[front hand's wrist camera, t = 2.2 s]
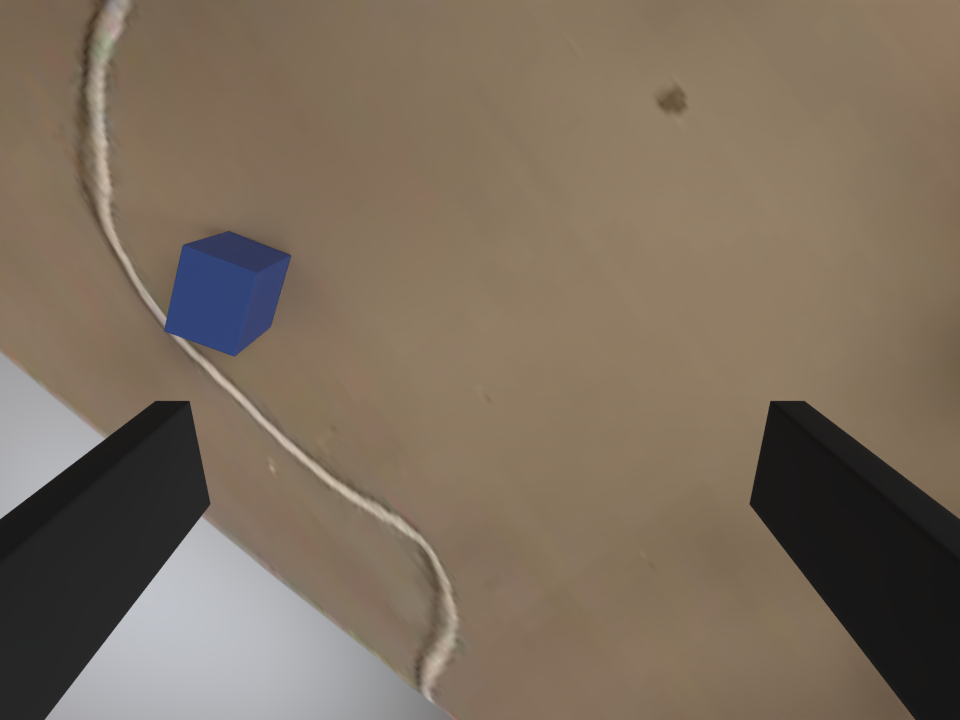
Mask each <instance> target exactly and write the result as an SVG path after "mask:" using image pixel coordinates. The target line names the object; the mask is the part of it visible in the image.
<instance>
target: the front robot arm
mask: <svg viewBox="0 0 960 720" xmlns="http://www.w3.org/2000/svg"><path fill="white" fill-rule="evenodd" d="M209 505H210V500H209V495H208V490H207V485H206V480H205V475H204V470H203V465H202V460H201V455H200V450H199V445H198V441H197V436H196V431H195V426H194V421H193V416H192V411H191V406H190V401H155V402H154V403H152V404H151V405H150V406H148V407H147V408H146V409H144V410H143V411H142V412H140V413H139V414H138V415H137V416H135V417H134V418H133V419H131V420H130V421H129V422H127V423H126V424H125V425H123V426H122V427H121V428H119V429H118V430H117V431H116V432H114V433H113V434H112V435H110V436H109V437H108V438H106V439H105V440H104V441H102V442H101V443H100V444H98V445H97V446H96V447H95V448H93V449H92V450H91V451H89V452H88V453H87V454H85V455H84V456H83V457H82V458H80V459H79V460H77V461H76V462H75V463H74V464H72V465H71V466H70V467H68V468H67V469H66V470H64V471H63V472H62V473H60V474H59V475H58V476H56V477H55V478H54V479H53V480H51V481H50V482H49V483H47V484H46V485H45V486H43V487H42V488H41V489H39V490H38V491H37V492H36V493H34V494H33V495H32V496H30V497H29V498H28V499H26V500H25V501H24V502H22V503H21V504H20V505H18V506H17V507H16V508H15V509H13V510H12V511H11V512H9V513H8V514H7V515H5V516H4V517H3V518H1V519H0V720H45V718H46V717H47V716H48V714H49V713H50V712H51V711H52V709H53V708H54V707H55V705H56V704H57V703H58V702H59V700H60V699H61V698H62V696H63V695H64V694H65V692H66V691H67V690H68V688H69V687H70V686H71V685H72V683H73V682H74V681H75V679H76V678H77V677H78V676H79V674H80V673H81V672H82V670H83V669H84V668H85V666H86V665H87V664H88V663H89V661H90V660H91V659H92V657H93V656H94V655H95V653H96V652H97V651H98V650H99V648H100V647H101V646H102V644H103V643H104V642H105V640H106V639H107V638H108V636H109V635H110V634H111V633H112V631H113V630H114V629H115V627H116V626H117V625H118V623H119V622H120V621H121V620H122V618H123V617H124V616H125V614H126V613H127V612H128V611H129V609H130V608H131V607H132V605H133V604H134V603H135V601H136V600H137V599H138V598H139V596H140V595H141V594H142V592H143V591H144V590H145V588H146V587H147V586H148V585H149V583H150V582H151V581H152V579H153V578H154V577H155V575H156V574H157V573H158V572H159V570H160V569H161V568H162V566H163V565H164V564H165V562H166V561H167V560H168V559H169V557H170V556H171V555H172V553H173V552H174V551H175V549H176V548H177V547H178V546H179V544H180V543H181V542H182V540H183V539H184V538H185V537H186V535H187V534H188V533H189V531H190V530H191V529H192V527H193V526H194V525H195V523H196V522H197V521H198V520H199V518H200V517H201V516H202V514H203V513H204V512H205V511H206V509H207V508H208V507H209ZM750 505H751V507H752V508H753V509H754V511H755V512H756V513H757V514H758V516H759V517H760V518H761V520H762V521H763V522H764V524H765V525H766V526H767V527H768V529H769V530H770V531H771V533H772V534H773V535H774V537H775V538H776V539H777V540H778V542H779V543H780V544H781V546H782V547H783V548H784V550H785V551H786V552H787V553H788V555H789V556H790V557H791V559H792V560H793V561H794V563H795V564H796V565H797V566H798V568H799V569H800V570H801V572H802V573H803V574H804V575H805V577H806V578H807V579H808V581H809V582H810V583H811V585H812V586H813V587H814V588H815V590H816V591H817V592H818V594H819V595H820V596H821V598H822V599H823V600H824V601H825V603H826V604H827V605H828V607H829V608H830V609H831V611H832V612H833V613H834V614H835V616H836V617H837V618H838V620H839V621H840V622H841V624H842V625H843V626H844V627H845V629H846V630H847V631H848V633H849V634H850V635H851V637H852V638H853V639H854V640H855V642H856V643H857V644H858V646H859V647H860V648H861V650H862V651H863V652H864V653H865V655H866V656H867V657H868V659H869V660H870V661H871V663H872V664H873V665H874V666H875V668H876V669H877V670H878V672H879V673H880V674H881V676H882V677H883V678H884V679H885V681H886V682H887V683H888V685H889V686H890V687H891V689H892V690H893V691H894V692H895V694H896V695H897V696H898V698H899V699H900V700H901V702H902V703H903V704H904V705H905V707H906V708H907V709H908V711H909V712H910V713H911V715H912V716H913V717H914V718H915V720H960V519H959V518H957V517H956V516H955V515H953V514H952V513H951V512H949V511H948V510H947V509H946V508H944V507H943V506H942V505H940V504H939V503H938V502H936V501H935V500H934V499H932V498H931V497H930V496H928V495H927V494H926V493H925V492H923V491H922V490H921V489H919V488H918V487H917V486H915V485H914V484H913V483H911V482H910V481H909V480H907V479H906V478H905V477H904V476H902V475H901V474H900V473H898V472H897V471H896V470H894V469H893V468H892V467H890V466H889V465H888V464H886V463H885V462H884V461H883V460H881V459H880V458H879V457H877V456H876V455H875V454H873V453H872V452H871V451H869V450H868V449H867V448H865V447H864V446H863V445H862V444H860V443H859V442H858V441H856V440H855V439H854V438H852V437H851V436H850V435H848V434H847V433H846V432H844V431H843V430H842V429H841V428H839V427H838V426H837V425H835V424H834V423H833V422H831V421H830V420H829V419H827V418H826V417H825V416H823V415H822V414H821V413H820V412H818V411H817V410H816V409H814V408H813V407H812V406H810V405H809V404H808V403H806V402H805V401H770V406H769V411H768V416H767V421H766V426H765V431H764V436H763V441H762V445H761V450H760V455H759V460H758V465H757V470H756V475H755V480H754V485H753V490H752V495H751V500H750Z"/></svg>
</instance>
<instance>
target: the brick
mask: <svg viewBox="0 0 960 720" xmlns="http://www.w3.org/2000/svg"><path fill="white" fill-rule="evenodd" d="M290 257H291V255H289V254H286V253H283V252H281V251H278V250H276V249H273V248H271V247H268V246H266V245H263V244H260V243H258V242H255V241H253V240H250V239H248V238H245V237H242V236H240V235H237V234H235V233H232V232H230V231H228V232H225V233H221V234H218V235H215V236H211V237H208V238H205V239H201V240H198V241H195V242H191V243H188V244H184V245H183V247H182V251H181V256H180V261H179V265H178V270H177V274H176V279H175V284H174V288H173V293H172V297H171V302H170V306H169V311H168V316H167V320H166V325H165V329H164V331H165V332H168V333H171V334H173V335H176V336H179V337H182V338H185V339H187V340H190V341H193V342H196V343H198V344H201V345H204V346H207V347H210V348H212V349H215V350H218V351H221V352H223V353H226V354H229V355H232V356H236V355H237V354H238V353H240V352H241V351H242V350H243V349H244V348H246V347H247V346H248V345H249V344H251V343H252V342H253V341H254V340H255V339H257V338H258V337H259V336H260V335H262V334H263V333H264V332H265V331H267V330H268V329H269V328H270V327H271V324H272V320H273V317H274V313H275V310H276V306H277V303H278V299H279V296H280V292H281V289H282V285H283V282H284V278H285V275H286V271H287V268H288V264H289V261H290Z"/></svg>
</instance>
